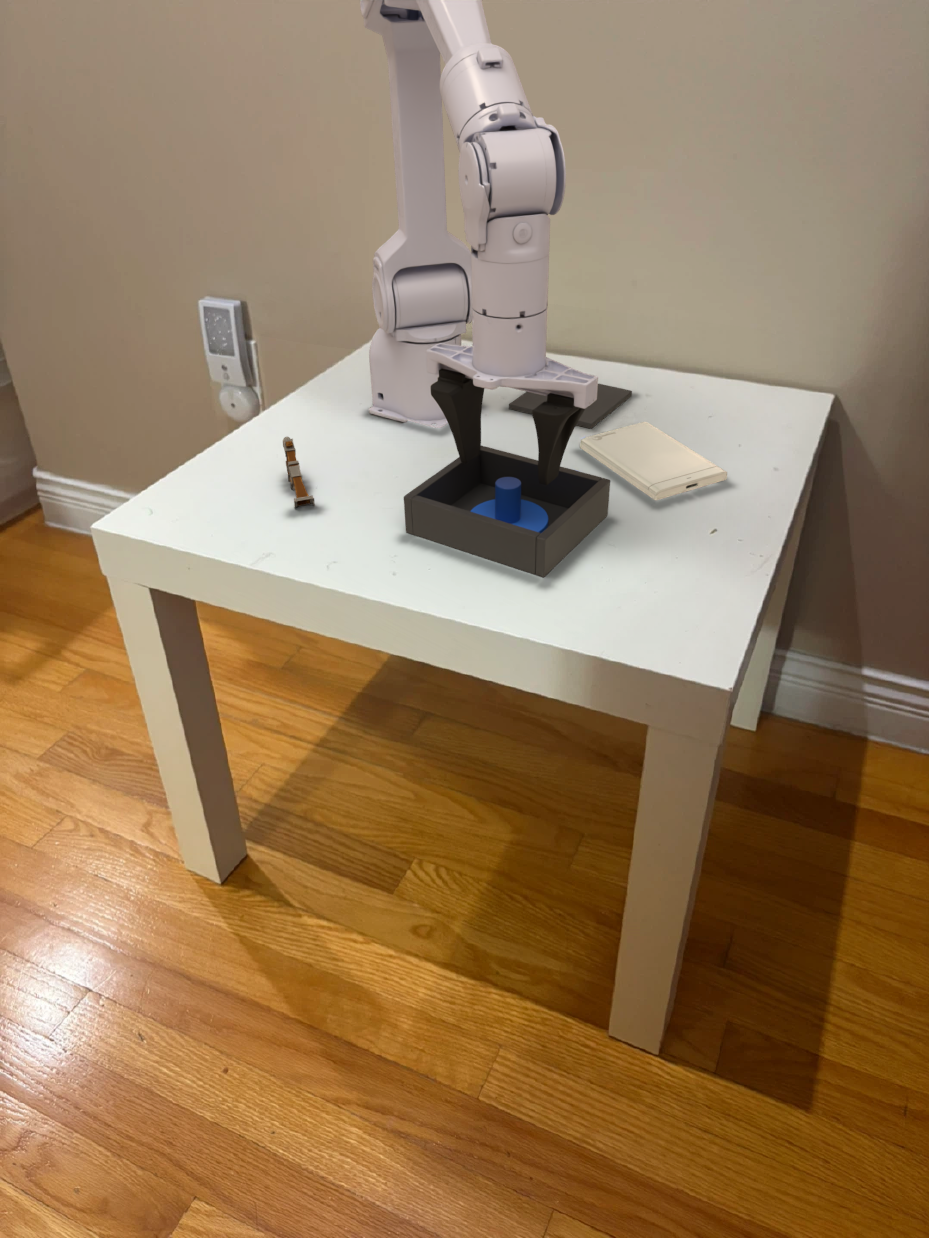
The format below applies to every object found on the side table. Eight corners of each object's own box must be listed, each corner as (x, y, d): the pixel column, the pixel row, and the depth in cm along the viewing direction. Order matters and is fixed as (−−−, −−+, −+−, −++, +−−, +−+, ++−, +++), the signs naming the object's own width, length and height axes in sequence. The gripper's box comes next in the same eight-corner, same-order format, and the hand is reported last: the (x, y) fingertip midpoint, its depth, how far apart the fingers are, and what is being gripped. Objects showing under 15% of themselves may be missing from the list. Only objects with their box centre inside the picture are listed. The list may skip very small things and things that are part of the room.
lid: (452, 530, 83) (450, 489, 80) (494, 496, 87) (494, 457, 85) (522, 553, 80) (523, 510, 77) (562, 516, 84) (564, 475, 82)
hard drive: (580, 438, 95) (656, 490, 86) (647, 420, 98) (728, 468, 89) (579, 453, 96) (654, 506, 87) (646, 435, 99) (726, 484, 90)
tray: (405, 538, 83) (403, 496, 81) (477, 483, 91) (476, 443, 88) (543, 583, 77) (545, 540, 75) (607, 521, 85) (610, 479, 82)
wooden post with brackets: (297, 461, 93) (295, 430, 89) (315, 526, 89) (314, 496, 86) (278, 464, 93) (276, 432, 89) (296, 530, 89) (294, 500, 85)
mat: (508, 409, 105) (508, 403, 104) (552, 378, 111) (552, 373, 111) (591, 429, 100) (591, 423, 100) (631, 395, 107) (632, 390, 106)
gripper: (400, 306, 73) (410, 467, 81) (570, 339, 66) (562, 511, 74) (451, 281, 78) (456, 436, 86) (614, 310, 71) (603, 474, 79)
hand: (508, 468), depth 80 cm, fingers open, 7 cm apart
